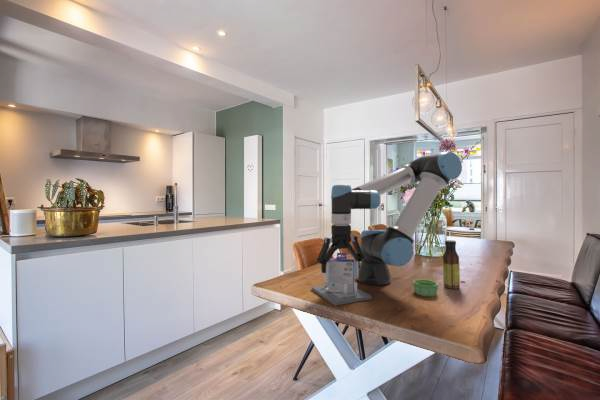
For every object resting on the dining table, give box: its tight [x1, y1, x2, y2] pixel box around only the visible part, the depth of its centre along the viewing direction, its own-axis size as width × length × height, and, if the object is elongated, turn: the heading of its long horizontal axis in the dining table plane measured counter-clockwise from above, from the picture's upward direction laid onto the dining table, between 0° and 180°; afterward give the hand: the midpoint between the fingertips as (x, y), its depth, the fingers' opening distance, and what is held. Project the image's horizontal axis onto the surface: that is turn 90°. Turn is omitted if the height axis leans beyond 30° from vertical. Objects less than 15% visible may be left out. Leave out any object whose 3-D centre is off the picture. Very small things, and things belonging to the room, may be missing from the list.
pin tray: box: [311, 281, 373, 306], centre depth 111 cm, size 16×18×6 cm
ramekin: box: [412, 278, 439, 298], centre depth 113 cm, size 9×9×4 cm
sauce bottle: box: [442, 239, 461, 290], centre depth 121 cm, size 7×6×20 cm
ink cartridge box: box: [327, 252, 355, 293], centre depth 111 cm, size 10×6×14 cm, turn 78°
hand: (340, 279), depth 111 cm, fingers open, 13 cm apart
